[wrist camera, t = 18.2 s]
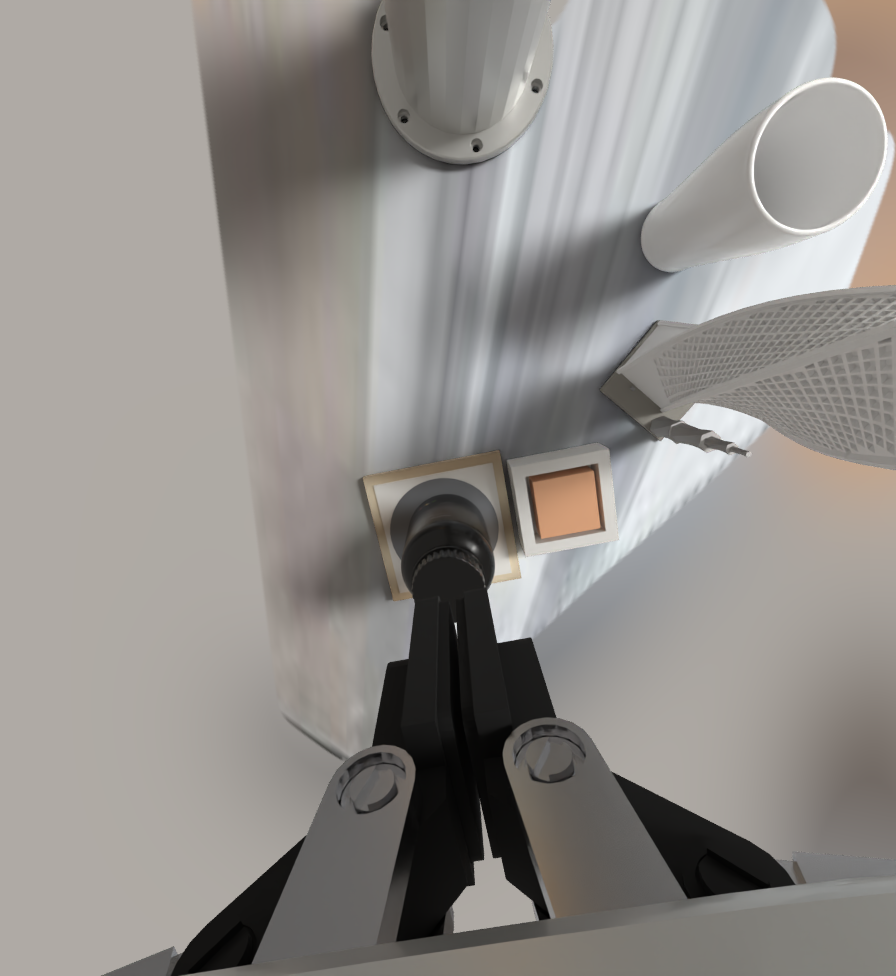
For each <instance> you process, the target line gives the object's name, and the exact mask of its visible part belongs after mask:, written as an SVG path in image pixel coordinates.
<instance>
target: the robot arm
mask: <svg viewBox="0 0 896 976" xmlns="http://www.w3.org/2000/svg"><path fill="white" fill-rule="evenodd" d="M550 2H551V0H382V1H381V3H380V6H379V9H378V11H377V14H376V19H375V23H374V28H373V33H372V51H371V57H372V66H373V74H374V79H375V84H376V88H377V92H378V95H379V97H380V100H381V103H382V105H383V108H384V111H385V112H386V114H387V116H388V117H389V119H390V121H391V123H392V124H393V126H394V127H395V129H396V130H397V131H398V132H399V133H400V135H401V136H402V137H403V138H404V139H405V140H406V141H407V142H408V143H409V144H410V145H412V146H413V147H414V148H415V149H417V150H418V151H419V152H421V153H423V154H425V155H427V156H429V157H431V158H433V159H435V160H439V161H442V162H446V163H450V164H471V163H477V162H482V161H485V160H487V159H490V158H493V157H495V156H497V155H499V154H500V153H502V152H504V151H505V150H507V149H508V148H510V147H511V146H512V145H513V144H514V143H515V142H516V141H517V140H518V139H519V138H520V137H522V136H523V135H524V133H525V132H526V131H527V129H528V128H529V126H530V125H531V124H532V122H533V121H534V119H535V117H536V115H537V113H538V111H539V109H540V107H541V105H542V103H543V100H544V98H545V95H546V92H547V89H548V86H549V81H550V77H551V72H552V67H553V47H554V45H553V36H552V27H551V22H550V19H549V15H548V9H549V5H550ZM386 28H388V31H384V30H385V29H386ZM533 89H536V90H537V92H538V93H534V92H532V90H533ZM404 118H405V119H407V120H408V122H406V123H401V121H402V119H404ZM474 147H478V148H479V152H474V151H473V148H474ZM456 617H457V634H456V629H455V625H454V620H453V616H452V611H451V606H450V603H449V600H448V601H443V602H441V600H440V597H439V596H435V597H430V598H424V599H419V600H416V601H415V609H414V617H413V626H412V634H411V643H410V651H409V659H406V660H400V661H394V662H390V663H388V665H387V669H386V674H385V680H384V685H383V690H382V696H381V701H380V707H379V712H378V717H377V723H376V728H375V734H374V739H373V745H372V747H370V748H367V749H365V750H362V751H360V752H358V753H356V754H355V755H353V756H352V757H350V758H349V759H347V760H346V761H345V762H344V763H343V764H342V765H341V766H340V767H339V768H338V769H337V771H336V772H335V774H334V775H333V777H332V779H331V781H330V782H329V784H328V787H327V789H326V791H325V794H324V796H323V798H322V801H321V803H320V805H319V808H318V810H317V813H316V815H315V817H314V819H313V822H312V824H311V826H310V829H309V831H308V833H307V835H306V836H305V837H304V838H303V839H302V840H301V841H299V842H298V843H297V844H296V845H295V846H294V847H293V848H292V849H290V850H289V851H288V852H287V853H286V854H285V855H284V856H283V857H282V858H280V859H279V860H278V861H277V862H276V863H275V864H274V865H273V866H272V867H270V868H269V869H268V870H267V871H266V872H265V873H264V874H263V875H262V876H260V877H259V878H258V879H257V880H256V881H255V882H254V883H253V884H252V885H250V887H248V888H247V889H246V890H245V891H244V892H243V893H242V894H241V895H239V896H238V897H237V898H236V899H235V900H234V901H233V902H232V903H230V904H229V905H228V906H227V907H226V908H225V909H224V910H223V911H222V912H221V913H219V914H218V915H217V916H216V917H215V918H214V919H213V920H212V921H210V922H209V923H208V924H207V925H206V926H205V927H204V928H203V929H202V930H201V931H200V933H198V935H197V936H196V937H195V938H194V939H193V940H192V941H191V942H190V943H189V945H188V946H187V948H186V949H185V951H184V952H183V953H181V954H177V952H176V950H175V948H174V946H173V947H171V948H169V949H166V950H164V951H161V952H159V953H156V954H154V955H151V956H149V957H146V958H144V959H141V960H139V961H136V962H134V963H131V964H129V965H126V966H124V967H122V968H119V969H117V970H114V971H112V972H109V973H107V974H104V975H102V976H896V860H895V859H881V858H869V857H856V856H844V855H830V854H817V853H805V852H793V861H787V860H775V859H774V858H773V857H772V856H771V855H770V854H768V853H767V852H765V851H764V850H762V849H761V848H759V847H757V846H756V845H754V844H753V843H751V842H750V841H748V840H746V839H744V838H742V837H740V836H738V835H736V834H734V833H732V832H730V831H728V830H726V829H724V828H722V827H720V826H718V825H716V824H714V823H712V822H710V821H708V820H706V819H704V818H702V817H700V816H698V815H696V814H694V813H692V812H690V811H688V810H686V809H684V808H683V807H681V806H679V805H677V804H675V803H673V802H670V801H668V800H667V799H665V798H663V797H661V796H659V795H656V794H655V793H653V792H651V791H649V790H647V789H645V788H643V787H641V786H639V785H637V784H635V783H633V782H631V781H629V780H627V779H625V778H623V777H621V776H619V775H617V774H615V773H613V772H611V771H610V769H609V767H608V766H607V764H606V762H605V761H604V759H603V757H602V756H601V754H600V752H599V751H598V749H597V748H596V746H595V744H594V742H593V741H592V739H591V738H590V737H589V736H588V734H587V733H586V732H585V731H584V730H583V729H582V728H580V727H579V726H577V725H576V724H574V723H572V722H570V721H566V720H563V719H560V718H556V715H555V712H554V709H553V705H552V702H551V699H550V696H549V693H548V689H547V686H546V683H545V680H544V677H543V673H542V670H541V667H540V664H539V661H538V657H537V654H536V651H535V648H534V645H533V642H532V639H531V638H525V639H519V640H514V641H508V642H502V643H497V640H496V635H495V630H494V624H493V619H492V614H491V609H490V604H489V598H488V593H487V588H486V587H485V588H480V589H474V590H469V591H464V598H459V599H456ZM457 637H458V639H457ZM480 802H481V806H482V811H483V815H484V820H485V824H486V829H487V833H488V838H489V842H490V847H491V851H492V855H493V858H499V857H501V858H502V863H503V867H504V872H505V877H506V879H507V880H508V881H509V882H510V883H511V884H513V885H514V886H515V887H516V888H518V889H519V890H520V891H521V892H522V893H524V894H525V895H526V896H527V897H529V898H530V899H531V900H532V904H533V909H534V914H535V918H536V921H534V922H527V923H520V924H514V925H507V926H500V927H493V928H487V929H480V930H473V931H466V932H460V933H453V931H454V912H453V908H452V905H453V903H454V902H455V901H456V899H457V898H458V897H459V896H460V894H461V893H462V892H463V890H464V889H465V888H466V886H472V885H475V878H474V861H480V860H484V848H483V836H482V823H481V811H480Z"/></svg>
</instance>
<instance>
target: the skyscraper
mask: <svg viewBox="0 0 896 976" xmlns="http://www.w3.org/2000/svg"><path fill="white" fill-rule="evenodd" d="M600 391H601V392H602V393H603V394H604V395H606V396H607V397H608V398H609V399H610V400H611V401H613V402H614V403H615V404H616V405H617V406H619V407H620V408H621V409H622V410H623V411H625V412H626V413H627V414H628V415H629V416H631V417H632V418H633V419H634V420H635V421H636V422H638V423H639V424H640V425H641V426H642V427H644V428H645V429H646V430H647V431H648V432H650V433H651V434H652V435H653V436H654V437H655V438H657V439H658V440H659V441H661V440H662V439H663V438H664V437H665V438H668V439H671V440H672V441H673V442H675V443H676V444H678V443H683V444H689V445H693V446H695V447H698V448H700V449H702V450H703V451H705V452H706V453H708V452H711V451H713V450H720V451H723V452H725V453H727V454H729V455H732V454H735V453H738V454H742V455H744V456H746V457H750V456H751V454H752V453H751V452H750V451H746V450H742V449H739V448H738V446H737V445H736V444H735V443H734V442H727V441H723V440H720V439H721V437H720V436H719V435H717V434H716V433H715V432H714V431H711V430H701V429H698V428H695V427H693V426H690V425H688V424H686V423H685V422H684V421H679V420H680V419H681V418H682V417H683V416H684V415H685V414H686V412H687V411H688V410H689V409H690V408H691V407H692V406H693V405H694V403H703V404H711V405H716V406H721V407H725V408H729V409H733V410H736V411H739V412H742V413H745V414H747V415H750V416H753V417H755V418H757V419H760V420H762V421H763V422H765V423H766V424H768V425H769V426H771V427H772V428H773V429H775V430H777V431H778V432H780V433H781V434H783V435H784V436H786V437H788V438H790V439H791V440H793V441H795V442H796V443H798V444H800V445H803V446H805V447H807V448H809V449H811V450H814V451H816V452H819V453H821V454H824V455H827V456H830V457H834V458H837V459H841V460H845V461H849V462H854V463H858V464H863V465H868V466H874V467H880V468H885V469H891V470H896V285H892V286H891V285H889V286H872V287H860V288H850V289H840V290H830V291H823V292H817V293H810V294H803V295H797V296H792V297H787V298H783V299H778V300H773V301H769V302H765V303H761V304H758V305H754V306H750V307H747V308H743V309H740V310H737V311H734V312H731V313H728V314H725V315H722V316H719V317H717V318H714V319H712V320H709V321H707V322H704V323H702V324H699V325H697V324H688V323H680V322H671V321H662V320H658V321H656V323H655V324H654V325H653V326H652V327H651V329H650V330H649V331H648V332H647V333H646V335H645V336H644V337H643V338H642V339H641V341H640V342H639V343H638V344H637V345H636V347H635V348H634V349H633V350H632V351H631V353H630V354H629V355H628V356H627V357H626V359H625V360H624V361H623V362H622V363H621V365H620V366H619V367H618V368H617V369H616V371H615V372H614V373H613V374H612V375H611V376H610V378H609V379H608V380H607V381H606V382H605V384H604V385H603V386H602V387H601V388H600Z"/></svg>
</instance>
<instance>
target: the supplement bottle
mask: <svg viewBox="0 0 896 976" xmlns="http://www.w3.org/2000/svg"><path fill="white" fill-rule="evenodd" d="M401 573H402V577H403V580H404V583H405V585H406V587H407V589H408V590H409V592H410V593H411V594H412V597H413V599H414V602H415V601H416V600H419V599H424V598H430V597H435V596H439V597H440V600H441V602H443V601H448V600H449V603H450V606H451V611H452V616H453V620H454V623H456V622H457V617H456V599H459V598H464V591H469V590H474V589H480V588H485V587H486V588H487V590H488V589H489V587H490V585H491V583H492V580H493V577H494V573H495V558H494V553H493V549H492V545H491V542H490V538H489V534H488V530H487V527H486V523H485V520H484V518H483V515H482V514H481V512H480V510H479V509H478V508H477V507H476V506H475V505H474V504H473V503H472V502H471V501H469V500H468V499H466V498H464V497H462V496H459V495H454V494H441V495H436V496H433V497H431V498H429V499H427V500H425V501H424V502H423V503H421V504H420V505H419V506H418V507H417V509H416V510H415V511H414V513H413V515H412V517H411V519H410V523H409V526H408V531H407V535H406V540H405V544H404V549H403V553H402V559H401Z"/></svg>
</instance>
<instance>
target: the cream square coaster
mask: <svg viewBox="0 0 896 976" xmlns="http://www.w3.org/2000/svg"><path fill="white" fill-rule="evenodd" d="M363 481H364V485H365V489H366V493H367V497H368V501H369V505H370V509H371V513H372V517H373V521H374V525H375V529H376V533H377V537H378V541H379V545H380V549H381V553H382V557H383V561H384V565H385V569H386V573H387V577H388V581H389V585H390V589H391V593H392V597H393V601H398V600H404V599H409V598H413V597H412V594H411V593H410V592H409V590H408V589H407V587H406V585H405V583H404V580H403V577H402V573H401V559H402V553H403V549H404V544H405V540H406V535H407V531H408V526H409V523H410V519H411V517H412V515H413V513H414V511H415V510H416V509H417V507H418V506H419V505H420V504H421V503H423V502H424V501H425V500H427V499H429V498H431V497H433V496H436V495H441V494H454V495H459V496H462V497H464V498H466V499H468V500H469V501H471V502H472V503H473V504H474V505H475V506H476V507H477V508H478V509H479V510H480V512H481V514H482V515H483V518H484V520H485V523H486V527H487V530H488V534H489V538H490V542H491V545H492V549H493V553H494V558H495V573H494V577H493V580H492V583H497V582H503V581H508V580H514V579H519V578H521V573H520V567H519V561H518V555H517V550H516V544H515V538H514V532H513V526H512V520H511V514H510V508H509V502H508V496H507V491H506V485H505V479H504V473H503V467H502V461H501V455H500V451H499V450H496V451H491V452H486V453H481V454H476V455H471V456H465V457H460V458H455V459H450V460H445V461H440V462H434V463H429V464H424V465H419V466H414V467H409V468H403V469H398V470H393V471H388V472H383V473H378V474H372V475H367V476H364V477H363ZM492 583H491V584H492Z"/></svg>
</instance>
